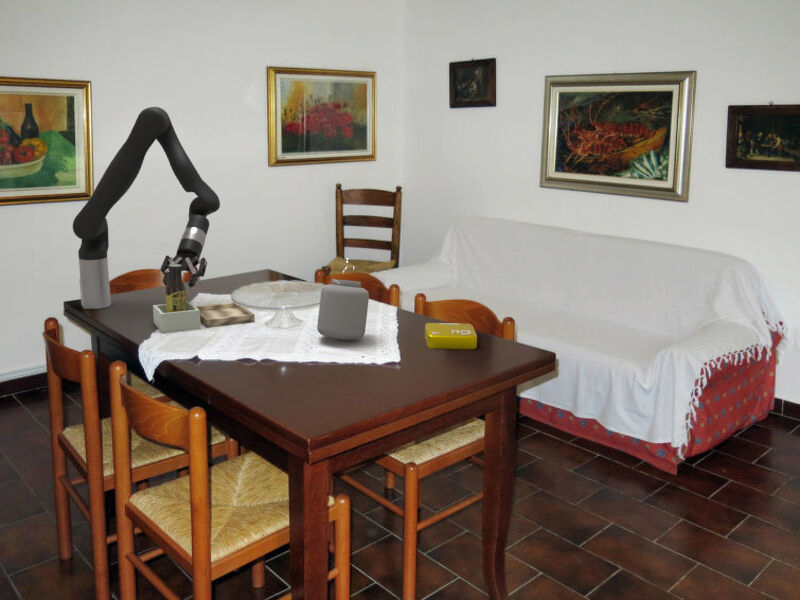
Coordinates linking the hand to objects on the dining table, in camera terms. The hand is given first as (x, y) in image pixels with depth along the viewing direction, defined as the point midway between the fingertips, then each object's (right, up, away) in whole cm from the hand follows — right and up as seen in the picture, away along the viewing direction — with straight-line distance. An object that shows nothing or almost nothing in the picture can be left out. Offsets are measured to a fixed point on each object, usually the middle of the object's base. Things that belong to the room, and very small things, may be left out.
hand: (177, 285), depth 244 cm
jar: (+54, -17, -7) cm, 57 cm away
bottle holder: (-1, -13, +2) cm, 13 cm away
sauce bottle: (-1, -13, +2) cm, 13 cm away
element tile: (+87, -18, -8) cm, 89 cm away
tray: (+12, -11, +12) cm, 20 cm away
